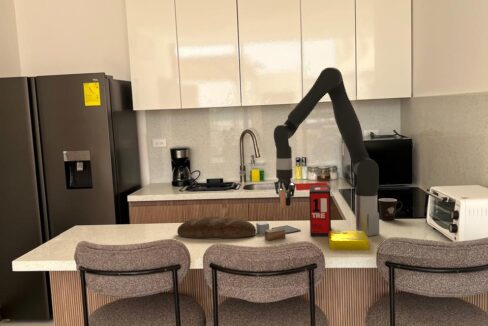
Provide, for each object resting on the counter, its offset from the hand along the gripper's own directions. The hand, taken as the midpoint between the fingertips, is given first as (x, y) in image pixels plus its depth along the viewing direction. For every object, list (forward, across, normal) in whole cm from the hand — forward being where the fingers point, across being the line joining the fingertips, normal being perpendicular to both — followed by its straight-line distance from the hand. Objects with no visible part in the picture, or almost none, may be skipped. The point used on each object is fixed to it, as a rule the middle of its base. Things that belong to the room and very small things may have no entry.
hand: (285, 204), depth 192 cm
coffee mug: (+12, +15, +53) cm, 57 cm away
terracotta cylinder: (+1, 0, 0) cm, 1 cm away
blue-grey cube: (+12, -3, -11) cm, 17 cm away
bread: (+13, -12, -30) cm, 35 cm away
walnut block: (+12, +9, -12) cm, 19 cm away
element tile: (+13, +34, +7) cm, 37 cm away
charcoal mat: (+12, 0, 0) cm, 12 cm away
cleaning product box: (+12, +12, +11) cm, 21 cm away
